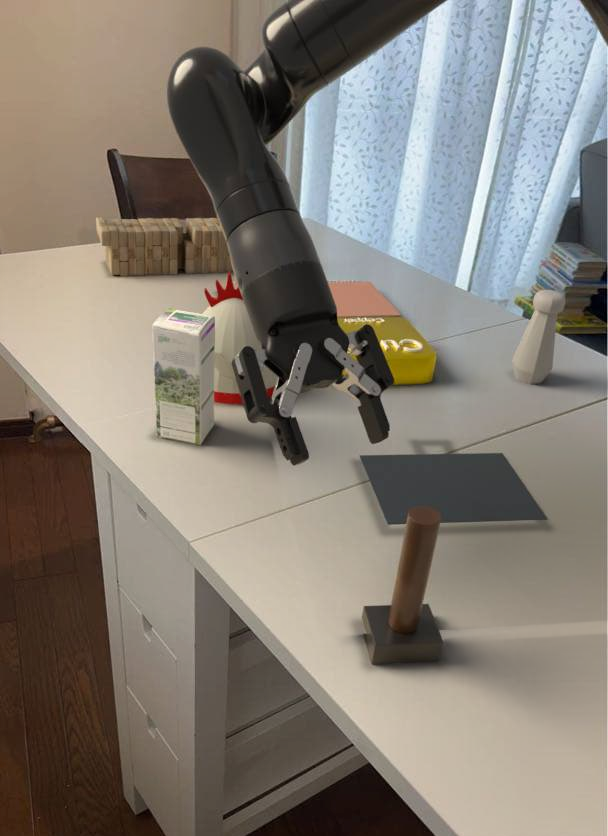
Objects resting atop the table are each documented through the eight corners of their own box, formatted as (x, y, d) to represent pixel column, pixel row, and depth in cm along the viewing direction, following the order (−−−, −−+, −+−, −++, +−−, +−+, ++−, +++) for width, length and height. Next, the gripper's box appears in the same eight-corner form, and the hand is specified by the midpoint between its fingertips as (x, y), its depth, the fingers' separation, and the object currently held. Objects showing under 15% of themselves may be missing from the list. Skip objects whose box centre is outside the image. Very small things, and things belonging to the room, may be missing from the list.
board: (500, 461, 98) (502, 452, 97) (545, 528, 87) (548, 519, 86) (358, 463, 95) (359, 455, 94) (386, 533, 84) (387, 524, 83)
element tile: (401, 342, 126) (406, 312, 123) (436, 384, 114) (442, 353, 111) (309, 344, 122) (312, 314, 119) (336, 388, 111) (339, 356, 108)
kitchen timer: (284, 407, 105) (292, 295, 96) (179, 403, 104) (177, 289, 95) (280, 362, 116) (286, 258, 107) (184, 358, 115) (183, 252, 106)
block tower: (252, 262, 154) (97, 262, 144) (255, 217, 149) (95, 213, 139) (263, 276, 148) (103, 276, 138) (267, 229, 143) (101, 226, 134)
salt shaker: (500, 376, 118) (522, 289, 111) (523, 367, 122) (545, 282, 114) (533, 391, 115) (558, 303, 107) (555, 381, 118) (580, 295, 111)
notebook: (366, 288, 144) (368, 277, 143) (399, 324, 132) (401, 313, 130) (218, 291, 138) (218, 280, 136) (237, 329, 125) (237, 317, 124)
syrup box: (215, 425, 100) (217, 313, 91) (200, 448, 95) (200, 332, 86) (172, 417, 101) (169, 305, 92) (154, 439, 96) (150, 323, 87)
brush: (424, 623, 73) (452, 496, 65) (438, 663, 69) (471, 533, 61) (360, 626, 72) (380, 497, 64) (371, 666, 68) (394, 535, 60)
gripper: (224, 267, 64) (292, 458, 63) (366, 249, 70) (428, 421, 70) (194, 309, 70) (255, 482, 70) (327, 288, 77) (383, 446, 76)
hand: (342, 451), depth 70 cm, fingers open, 8 cm apart
